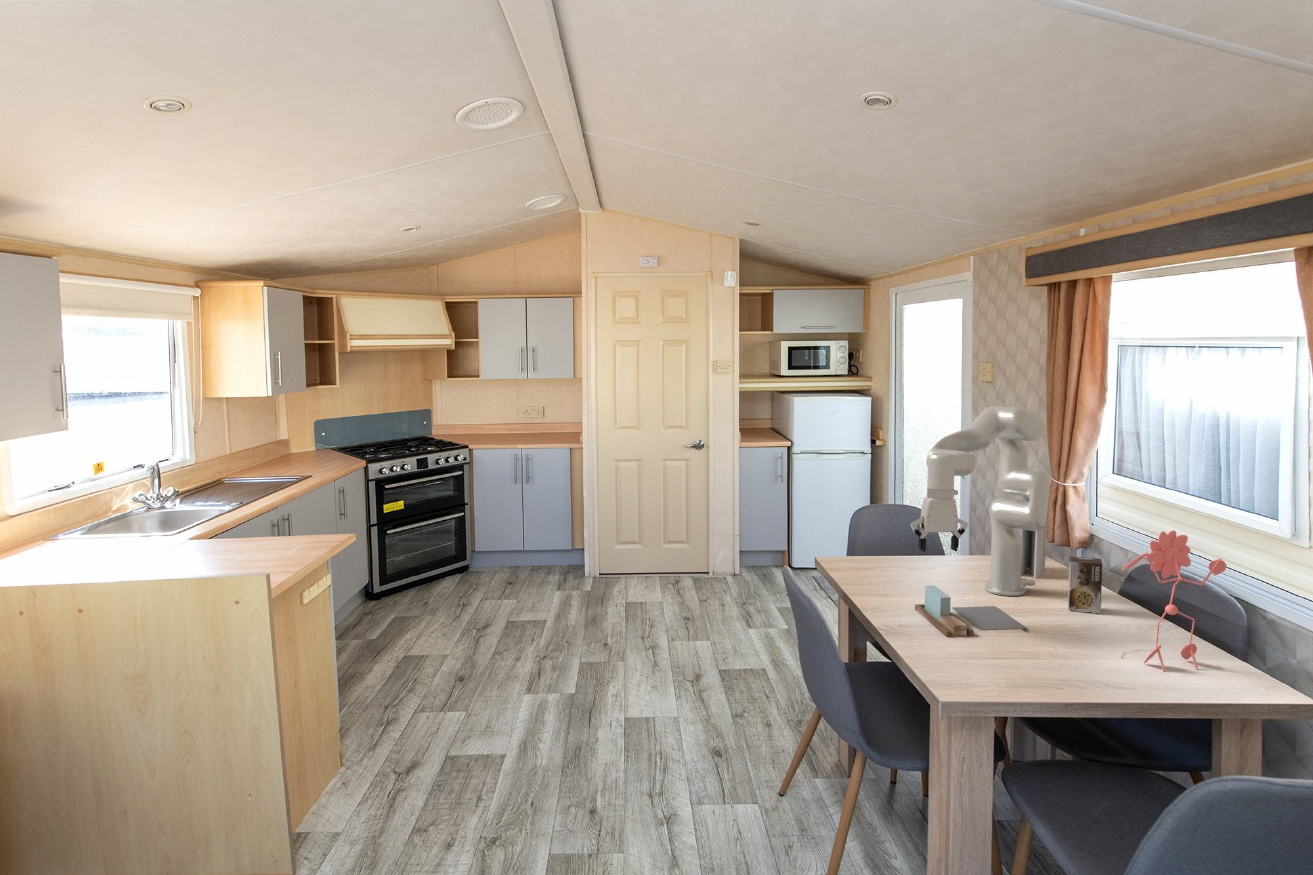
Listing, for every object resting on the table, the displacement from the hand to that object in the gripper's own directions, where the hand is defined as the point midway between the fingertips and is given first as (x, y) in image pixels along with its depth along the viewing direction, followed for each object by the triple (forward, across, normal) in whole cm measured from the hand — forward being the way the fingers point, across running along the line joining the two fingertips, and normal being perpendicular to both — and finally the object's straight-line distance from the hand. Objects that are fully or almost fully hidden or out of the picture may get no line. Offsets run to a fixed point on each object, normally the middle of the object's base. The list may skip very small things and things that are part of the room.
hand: (938, 550), depth 247 cm
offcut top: (+19, 0, +12) cm, 23 cm away
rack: (+22, 0, +4) cm, 22 cm away
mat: (+22, -15, +2) cm, 27 cm away
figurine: (+22, -46, +36) cm, 62 cm away
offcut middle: (+21, 0, +12) cm, 24 cm away
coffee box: (+21, -49, -5) cm, 54 cm away
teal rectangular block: (+22, 0, 0) cm, 22 cm away
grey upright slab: (+21, -54, -46) cm, 74 cm away
